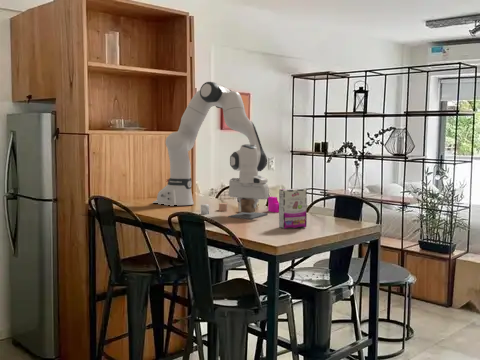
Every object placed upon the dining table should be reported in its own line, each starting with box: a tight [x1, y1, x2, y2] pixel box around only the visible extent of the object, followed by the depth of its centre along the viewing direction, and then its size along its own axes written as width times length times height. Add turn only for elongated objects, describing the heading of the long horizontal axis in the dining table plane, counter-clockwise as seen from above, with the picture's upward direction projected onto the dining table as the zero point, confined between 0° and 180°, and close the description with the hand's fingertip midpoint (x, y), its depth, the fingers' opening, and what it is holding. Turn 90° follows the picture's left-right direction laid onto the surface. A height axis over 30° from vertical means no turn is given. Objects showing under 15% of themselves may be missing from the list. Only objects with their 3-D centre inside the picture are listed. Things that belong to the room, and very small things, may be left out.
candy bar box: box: [278, 187, 308, 230], centre depth 231 cm, size 11×5×16 cm, turn 114°
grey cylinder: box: [200, 203, 210, 215], centre depth 264 cm, size 4×4×5 cm
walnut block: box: [240, 198, 256, 213], centre depth 260 cm, size 5×5×6 cm
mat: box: [227, 211, 268, 221], centre depth 260 cm, size 12×18×1 cm, turn 152°
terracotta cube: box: [218, 202, 228, 212], centre depth 277 cm, size 4×4×4 cm
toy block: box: [267, 196, 279, 213], centre depth 282 cm, size 15×6×8 cm, turn 127°
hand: (248, 207), depth 260 cm, fingers closed on walnut block, 5 cm apart
